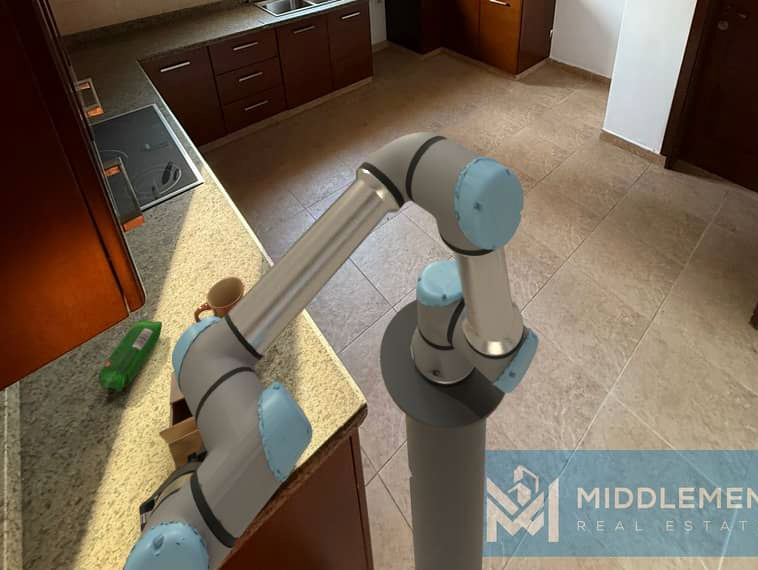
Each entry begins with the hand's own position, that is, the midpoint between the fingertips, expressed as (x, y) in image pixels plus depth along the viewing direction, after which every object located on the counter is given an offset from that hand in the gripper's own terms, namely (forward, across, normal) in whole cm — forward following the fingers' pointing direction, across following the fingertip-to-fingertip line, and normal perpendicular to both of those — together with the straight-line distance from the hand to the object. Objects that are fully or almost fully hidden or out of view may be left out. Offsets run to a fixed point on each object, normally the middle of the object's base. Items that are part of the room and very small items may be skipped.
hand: (208, 449), depth 70 cm
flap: (+6, 0, +3) cm, 7 cm away
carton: (+22, 0, -2) cm, 22 cm away
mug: (+37, +2, +14) cm, 40 cm away
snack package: (+38, -18, +15) cm, 45 cm away
